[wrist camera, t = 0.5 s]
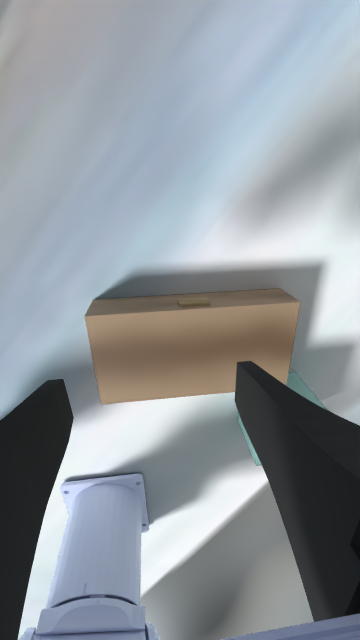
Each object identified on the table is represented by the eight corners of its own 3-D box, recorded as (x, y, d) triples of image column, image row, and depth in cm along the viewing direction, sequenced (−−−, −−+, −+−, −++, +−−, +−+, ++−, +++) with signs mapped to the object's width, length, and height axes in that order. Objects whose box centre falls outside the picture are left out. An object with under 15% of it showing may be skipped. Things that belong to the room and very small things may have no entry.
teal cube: (287, 413, 27) (316, 458, 22) (237, 419, 26) (256, 465, 22) (294, 371, 24) (328, 411, 20) (240, 376, 24) (262, 418, 19)
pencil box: (269, 365, 24) (285, 387, 21) (106, 379, 22) (101, 404, 20) (280, 285, 21) (300, 299, 18) (93, 297, 19) (84, 313, 17)
